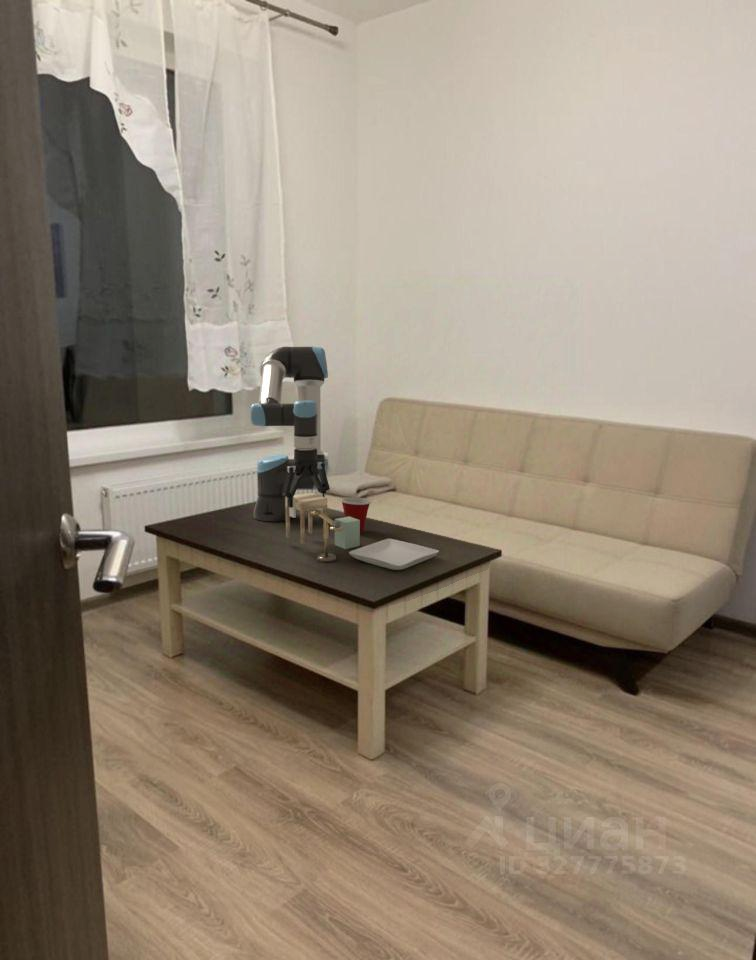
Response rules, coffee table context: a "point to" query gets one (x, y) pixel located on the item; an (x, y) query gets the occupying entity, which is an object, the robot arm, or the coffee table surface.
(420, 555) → the salad plate
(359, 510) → the plastic cup
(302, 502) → the wooden stool
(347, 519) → the block
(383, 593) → the coffee table surface
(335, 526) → the balance
